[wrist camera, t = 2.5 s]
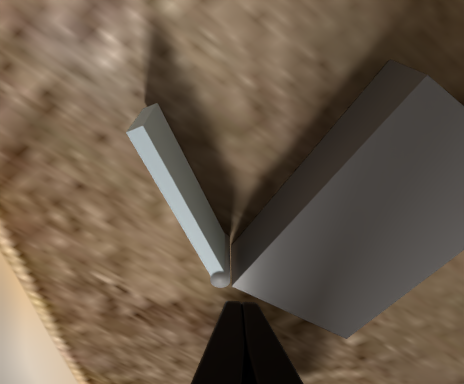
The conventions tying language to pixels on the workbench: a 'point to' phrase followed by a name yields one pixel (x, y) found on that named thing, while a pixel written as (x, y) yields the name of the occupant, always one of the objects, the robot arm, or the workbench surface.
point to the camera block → (363, 208)
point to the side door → (181, 191)
